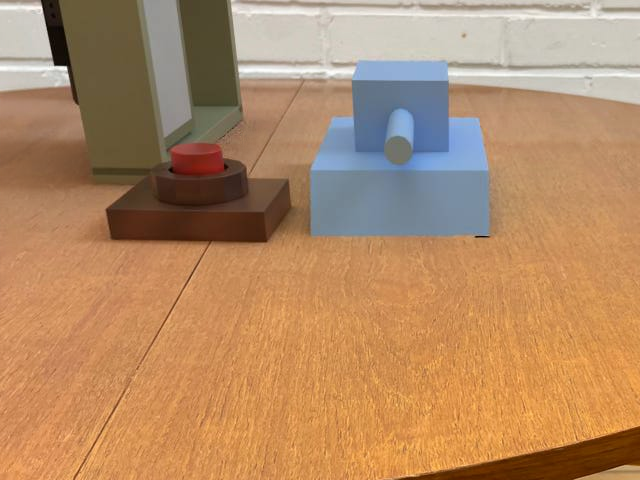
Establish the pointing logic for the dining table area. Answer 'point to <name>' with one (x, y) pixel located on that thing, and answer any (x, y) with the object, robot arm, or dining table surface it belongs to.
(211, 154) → the button
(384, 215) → the toy tank
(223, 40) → the window frame
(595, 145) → the dining table surface
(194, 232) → the button block
